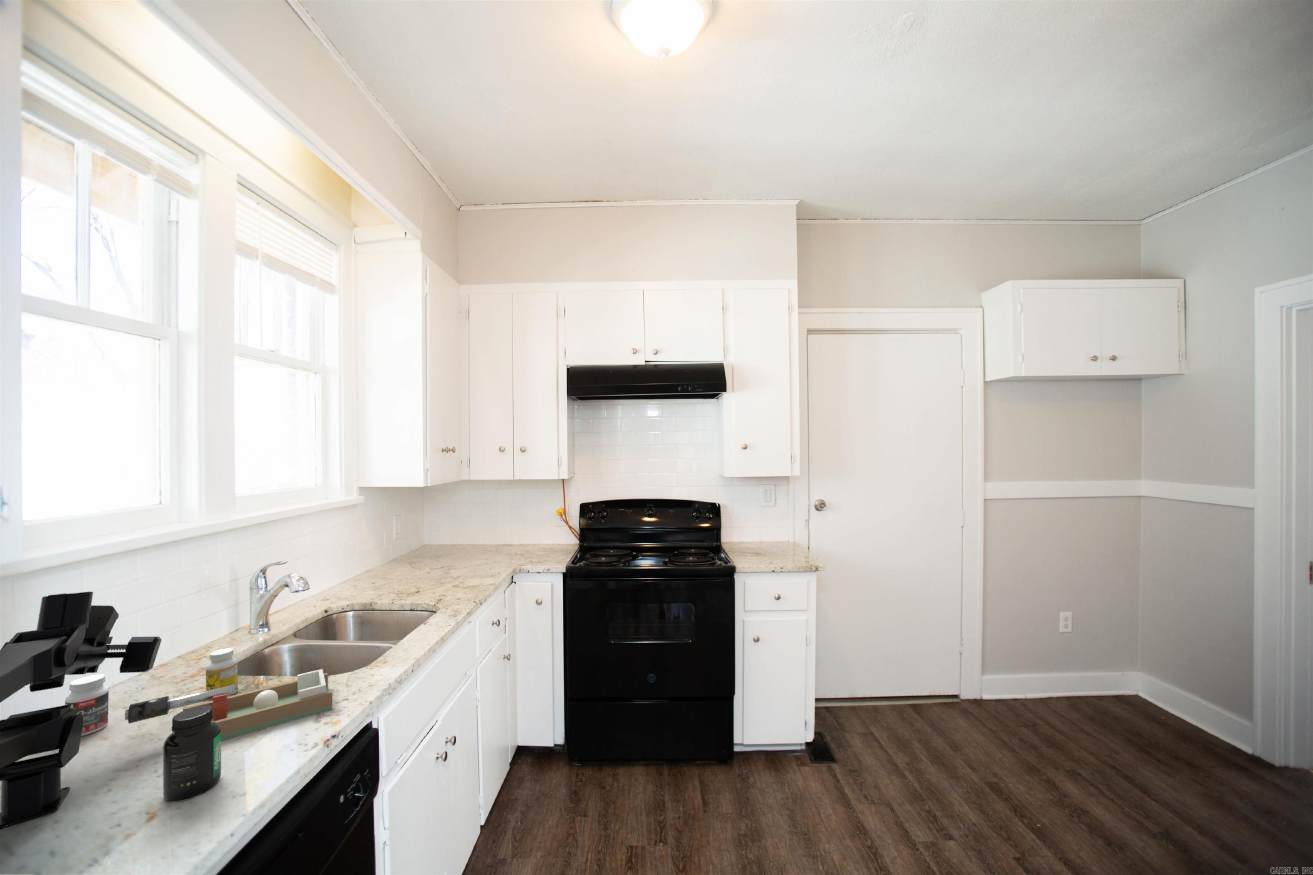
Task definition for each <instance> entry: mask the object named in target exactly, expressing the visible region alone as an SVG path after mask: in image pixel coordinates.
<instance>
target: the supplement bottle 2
mask: <svg viewBox="0 0 1313 875" xmlns="http://www.w3.org/2000/svg"><path fill="white" fill-rule="evenodd" d="M234 655H235V654H234V648H232V647H231V648H230V647H229V648H227V647H226V648H221V649H217V650H214V651H212V652H211V653H209V660H210V662H208V664H207V665H206V667H205V691H209V690H213V689H217V688H222V687H226V686H230V685H234V694H236V692H238V687H239V685H238V681H239V680H238V659H237V658H236V657H233V656H234ZM229 696H232V695H229ZM229 696H228V697H229ZM211 701H213V699H212V700H211Z"/></svg>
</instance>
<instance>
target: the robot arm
mask: <svg viewBox="0 0 1313 875" xmlns="http://www.w3.org/2000/svg"><path fill="white" fill-rule="evenodd" d="M93 596H94V592H93V591H82V592H75V593H74V592H73V593H71V592H70V593H55V594H48V595H45V596H42V597H41V602H40V608H39V613H38V620H37V626H36V629H34V630H29V631H19V632H16V633H15V634H14V636H12V637H11V638H10V639H9V641H6V642H4V644H3V645H2V647H1V648H0V704H1V703H2V702H4V701H5V700H7V699H8V698H10V697H11V696H12V695H14V694H15V693H17V692H18V691H20V690H21V689H23V688H25V687H26V686H29V692H31V693H34V692H35V693H36V692H41V691H47V690H51V689H57V688H62V687H64V684H65V677H66V676H74V675H86V674H94V673H98V670H99V667H100V665H101V664H102V663H104V661H106V660H105V659H122V660H121V662H120V666H119V674H127V673H128V674H129V673H147V672H150V671H151V670H152V669H153V668H154V665H155V662H156V658H157V655H158V652H159V650H160V647H161V643H162V638H161V637H160V636H131V638H130V639H129V641H128V642H127V644H126V643H125V644H111V643H112V640H113V638H114V637H113V636H110V634H111V632H112V630H113V628H114V626H115V623H116V622H117V620H118V619H119V615H120V614H119V613H118V611H117V609H116V608H115V607H114V606H113V605H99V604H98V605H94V604H93V605H92V603H93ZM124 650H125V651H124ZM70 707H71V704H69V705H65V704H64V705H58V706H54V707H49V708H43V709H36V710H32V711H26V712H20V713H17V714H16V713H15V714H11V715H9V716H8V717H7V718H5V719H0V782H1V784H0V786H1V788H0V789H1V792H0V793H1V795H0V796H1V797H0V798H1V799H0V801H1V802H0V808H1V809H0V829H1V828H4V826H5V827H7V826H6V825H8V826H11V824H12V825H14V824H18V823H22V822H25V821H28V820H32V819H35V818H38V817H42V816H45V815H48V814H52V813H54V812H56V811H57V810H59V808H60V807H61V805H62V804H63V802H64V800H65V798H66V797H67V795H68V793H69V792H70V791H71V790H70V789H71V787H70V786H66V787H62V769H63V768H65V767H66V766H67V765H68V764H69V763H70V761H72V760H73V759H74V758H75V757H76V755H78V754H79V752H80V747H81V739H82V736H81V734H82V728H83V716H82V714H77V715H76V713H77V711H78V710H77V709H75V708H70ZM53 751H57V752H54V753H49V754H46V755H42V756H36V757H32V758H27V759H24V758H26V757H30V756H34V755H39V754H42V753H47V752H53ZM22 759H24V760H22Z"/></svg>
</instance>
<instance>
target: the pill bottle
mask: <svg viewBox="0 0 1313 875" xmlns="http://www.w3.org/2000/svg"><path fill="white" fill-rule="evenodd" d="M105 682H106V674H103V673H102V674H100V673H99V674H92V675H88V676H83V677H80V678H78V679H74V680H72V681H71V682H70V683H69V684H68V685H69V687H68V688H69V691H70V693H69V694H68V695H67V696H66V697H65V700H64V705H69V704H71V707H70V708H75V709H77V710H78V711H77V713H76V715H77V714H82V716H83V728H82V734H81V737H84V736H88V735H91V734H93V733H96V732H98V731H100V730H102V729H104V728H105V727H107V725H108V724H109V723H108V722H109V700H110V698H109V687H108V686H107V685H104V683H105Z"/></svg>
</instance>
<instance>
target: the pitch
mask: <svg viewBox="0 0 1313 875" xmlns="http://www.w3.org/2000/svg"><path fill="white" fill-rule="evenodd" d="M323 674H324V678H325V683H326V692H325V693H321V694H317V695H313V696H310V697H306V698H302V699H299V694H298V693H297V680H292V681H291V680H290V681H289V682H284V683H283V682H282V683H281V684H280V683H279V684H274V685H271V686H267V687H263V688H260V689H255V690H251V691H246V692H243V693H238V694H233V695H231V696H228V718H225V719H221V720H217V721H214V722H216V723H218V724H219V725H220V727H221V741H224V740H227V739H232V738H235V737H238V736H242V735H246V734H248V733H252V732H253V733H254V732H256V731H261V730H264V729H268V728H271V727H274V726H278V725H282V724H285V723H288V722H293V721H296V720H300V719H304V718H307V717H310V716H314V715H317V714H321V713H325V712H329V711H332V710H333V690H329V675H328V672H326V673H323ZM265 690H273V691H275V692H276V693H277V695H278V701H277V703H276V705H275V706H271V707H267V708H263V709H260V710H256V709H255V708H254V705H253V703H254V699H255V698H256V696H257V695H258V694H259V693H261V692H262V691H265ZM198 706H212V707H213V700H208V701H204V702H200V703H196V704H192V705H187V706H183V707H182V711H184V710H187V709H190V708H194V707H198ZM212 721H213V720H212Z"/></svg>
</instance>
